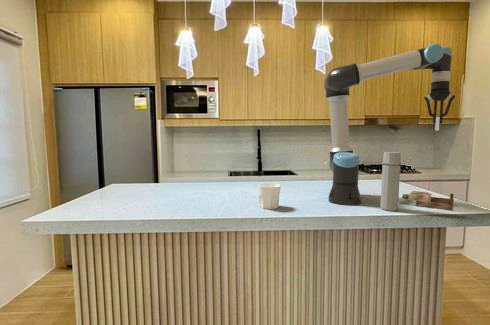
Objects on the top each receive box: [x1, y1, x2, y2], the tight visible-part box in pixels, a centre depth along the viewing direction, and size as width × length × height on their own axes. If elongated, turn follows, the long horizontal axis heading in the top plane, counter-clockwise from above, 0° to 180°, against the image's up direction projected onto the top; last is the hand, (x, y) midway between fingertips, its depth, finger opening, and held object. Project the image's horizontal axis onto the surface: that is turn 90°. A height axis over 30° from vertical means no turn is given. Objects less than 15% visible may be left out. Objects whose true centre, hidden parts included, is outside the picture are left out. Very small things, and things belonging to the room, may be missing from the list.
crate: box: [408, 190, 432, 202], centre depth 143 cm, size 8×8×5 cm
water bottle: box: [379, 151, 402, 212], centre depth 132 cm, size 9×8×25 cm
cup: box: [257, 182, 281, 210], centre depth 136 cm, size 10×10×10 cm
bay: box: [398, 193, 454, 211], centre depth 142 cm, size 21×14×5 cm, turn 56°
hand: (437, 130), depth 149 cm, fingers closed
